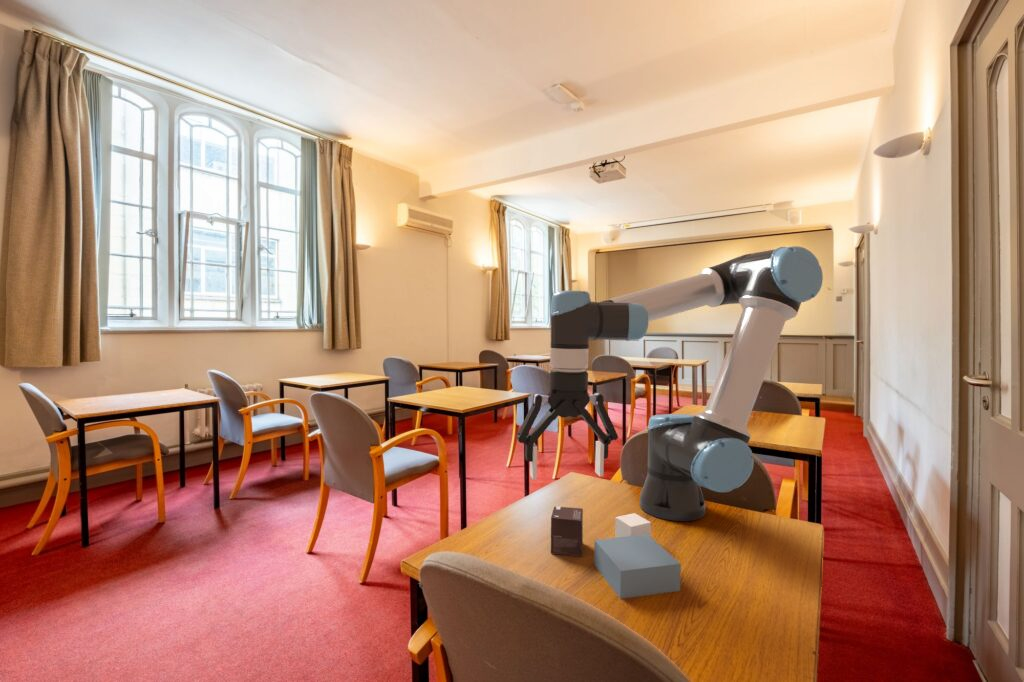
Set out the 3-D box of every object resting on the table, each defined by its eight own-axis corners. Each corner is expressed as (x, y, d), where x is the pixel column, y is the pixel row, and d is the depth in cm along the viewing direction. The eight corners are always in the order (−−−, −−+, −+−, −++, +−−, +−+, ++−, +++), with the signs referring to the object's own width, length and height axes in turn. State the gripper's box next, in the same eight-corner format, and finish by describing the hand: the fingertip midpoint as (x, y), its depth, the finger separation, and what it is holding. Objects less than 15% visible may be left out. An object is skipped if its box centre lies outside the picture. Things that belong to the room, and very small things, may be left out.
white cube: (634, 536, 99) (634, 512, 99) (650, 546, 95) (650, 522, 95) (615, 540, 97) (615, 517, 97) (630, 551, 93) (631, 526, 93)
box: (581, 557, 90) (581, 520, 90) (550, 554, 91) (550, 517, 91) (582, 543, 96) (583, 508, 96) (553, 540, 97) (554, 505, 97)
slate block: (647, 559, 90) (648, 534, 90) (680, 592, 79) (680, 563, 79) (594, 566, 88) (594, 539, 87) (620, 600, 77) (620, 570, 77)
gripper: (620, 367, 98) (618, 467, 99) (503, 367, 94) (501, 472, 94) (636, 371, 91) (633, 479, 91) (509, 371, 86) (507, 485, 87)
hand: (566, 476), depth 93 cm, fingers open, 13 cm apart
